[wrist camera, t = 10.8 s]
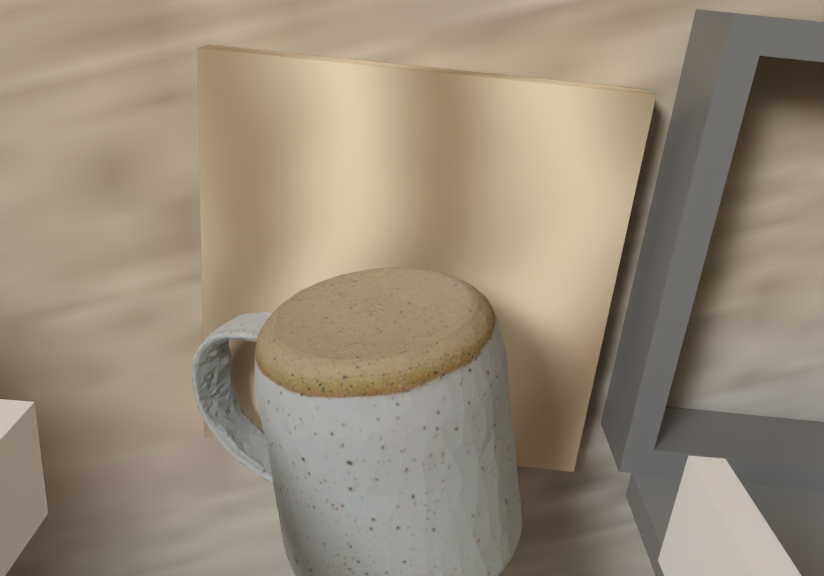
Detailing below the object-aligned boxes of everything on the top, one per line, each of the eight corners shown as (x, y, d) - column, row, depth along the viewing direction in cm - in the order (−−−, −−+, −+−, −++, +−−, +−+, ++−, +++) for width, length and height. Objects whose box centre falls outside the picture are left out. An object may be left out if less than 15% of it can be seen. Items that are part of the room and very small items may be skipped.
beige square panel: (213, 418, 29) (204, 436, 28) (208, 45, 23) (197, 47, 22) (568, 453, 29) (573, 471, 28) (646, 89, 23) (656, 94, 22)
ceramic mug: (496, 240, 23) (509, 379, 16) (515, 444, 27) (531, 627, 20) (177, 271, 24) (65, 412, 18) (237, 462, 28) (163, 639, 21)
